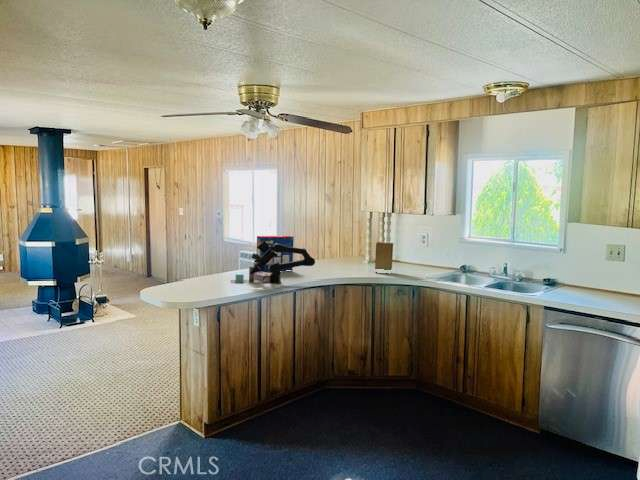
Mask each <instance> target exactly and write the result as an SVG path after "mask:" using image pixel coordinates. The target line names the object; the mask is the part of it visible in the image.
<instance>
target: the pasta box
mask: <svg viewBox="0 0 640 480" xmlns="http://www.w3.org/2000/svg"><path fill="white" fill-rule="evenodd" d="M294 238H295V236H292V235H257V236H256V254H259V256H262V255H264V254H265V253H266V252H265V253H264V252H263V253H262V252H261V251H260V250H259V249H258V248H257V246H258V245H259V244H260V243H261V242H263V241H265V242H266V243H267V244H268V245H269V246H270V245H274V244H275V243H278V244H281V245H284V246H287V247H294V240H295V239H294ZM269 250H270V251H274V250H271V249H270V248H269ZM274 252H275V251H274ZM275 253H276V254H277V258H276V257H275V256H274V257H273V258H272V259H271V260H270V261H269V263H267V264H266V265H265V266H264V270H263V271H262V270H261V271H259V272H269V273H272V272H271V271H270V270H269V268H268V267H269V265H270V264H271V263H272V262H277V261H278V262H279V263H287V262H292V261H294V253H290V252H275ZM293 269H294V267H292V268H286V269H282V270H280V271H286V270H293Z"/></svg>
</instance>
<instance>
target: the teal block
mask: <svg viewBox="0 0 640 480" xmlns="http://www.w3.org/2000/svg"><path fill="white" fill-rule="evenodd" d="M235 280H236V282H243V280H245V279H244V273H237V272H236V273H235Z"/></svg>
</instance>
